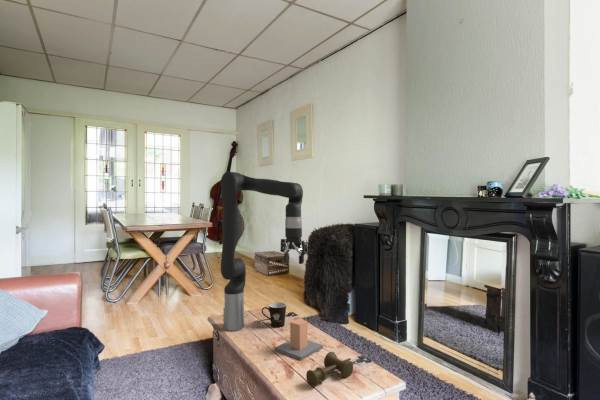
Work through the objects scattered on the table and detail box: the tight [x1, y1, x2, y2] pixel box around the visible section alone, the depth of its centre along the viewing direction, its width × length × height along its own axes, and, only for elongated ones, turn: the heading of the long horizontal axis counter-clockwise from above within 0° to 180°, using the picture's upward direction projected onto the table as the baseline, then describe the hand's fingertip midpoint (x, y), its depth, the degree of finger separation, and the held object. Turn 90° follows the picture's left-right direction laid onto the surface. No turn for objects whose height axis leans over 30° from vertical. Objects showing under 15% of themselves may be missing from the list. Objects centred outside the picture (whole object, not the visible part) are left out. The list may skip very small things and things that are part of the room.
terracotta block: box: [289, 318, 308, 350], centre depth 139 cm, size 5×5×10 cm
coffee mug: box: [261, 302, 287, 329], centre depth 167 cm, size 12×9×10 cm
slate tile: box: [274, 340, 324, 361], centre depth 138 cm, size 14×14×1 cm
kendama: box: [305, 351, 354, 388], centre depth 117 cm, size 6×10×20 cm
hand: (293, 262), depth 152 cm, fingers open, 8 cm apart
